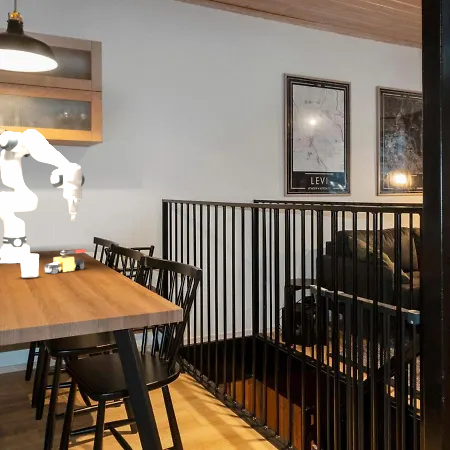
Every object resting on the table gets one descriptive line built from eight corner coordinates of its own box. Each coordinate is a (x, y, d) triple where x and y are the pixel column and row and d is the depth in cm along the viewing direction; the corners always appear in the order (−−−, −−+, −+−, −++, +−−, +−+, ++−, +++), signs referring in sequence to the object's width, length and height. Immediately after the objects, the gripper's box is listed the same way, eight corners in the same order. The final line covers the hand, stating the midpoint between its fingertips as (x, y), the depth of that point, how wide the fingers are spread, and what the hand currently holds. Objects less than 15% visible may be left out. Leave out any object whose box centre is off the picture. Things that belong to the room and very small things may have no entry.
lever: (63, 255, 229) (62, 251, 229) (58, 254, 231) (58, 251, 231) (85, 252, 240) (85, 249, 240) (81, 251, 242) (81, 248, 242)
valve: (52, 275, 222) (52, 257, 221) (43, 274, 225) (42, 256, 225) (85, 269, 239) (85, 253, 238) (76, 268, 242) (76, 252, 242)
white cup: (32, 278, 210) (32, 256, 210) (16, 277, 212) (16, 255, 211) (42, 275, 218) (42, 254, 218) (27, 275, 220) (27, 253, 219)
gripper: (79, 195, 233) (79, 223, 234) (79, 194, 253) (79, 220, 254) (66, 195, 231) (66, 223, 232) (66, 194, 251) (67, 220, 252)
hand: (73, 221), depth 243 cm, fingers closed
